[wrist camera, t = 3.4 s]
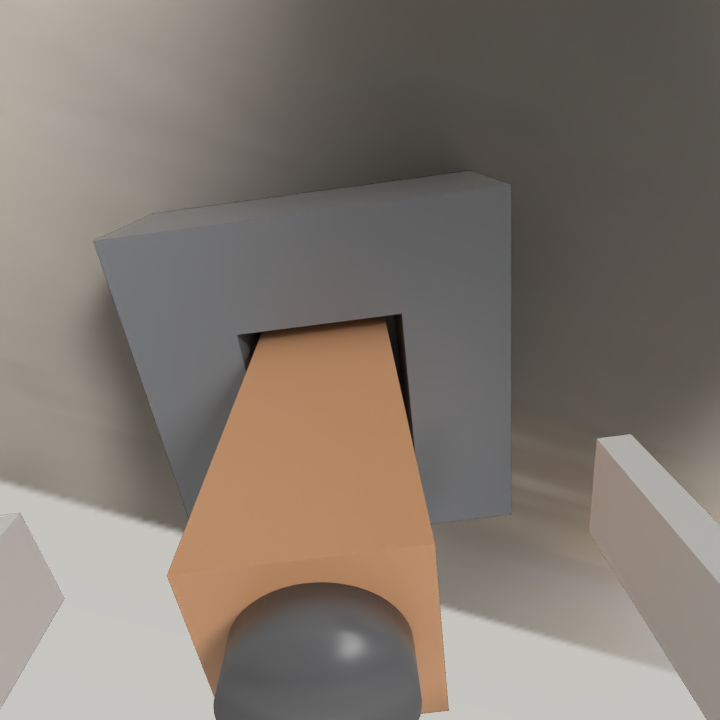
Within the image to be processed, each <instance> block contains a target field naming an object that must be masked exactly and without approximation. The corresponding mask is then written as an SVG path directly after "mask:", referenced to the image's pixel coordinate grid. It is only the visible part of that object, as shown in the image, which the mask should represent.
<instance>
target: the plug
mask: <svg viewBox="0 0 720 720" xmlns="http://www.w3.org/2000/svg"><path fill="white" fill-rule="evenodd" d="M167 577H168V580H169V582H170V585H171V587H172V590H173V593H174V595H175V598H176V600H177V603H178V605H179V608H180V610H181V613H182V615H183V618H184V621H185V623H186V626H187V628H188V631H189V633H190V636H191V638H192V641H193V644H194V646H195V648H196V651H197V653H198V656H199V659H200V661H201V664H202V667H203V669H204V672H205V674H206V677H207V679H208V682H209V684H210V687H211V689H212V692H213V694H214V697H215V698H214V714H215V717H216V720H418V719H419V717H420V714H423V713H431V712H441V711H448V710H449V708H448V696H447V684H446V672H445V660H444V648H443V635H442V624H441V611H440V599H439V587H438V575H437V563H436V551H435V542H434V538H433V533H432V529H431V524H430V520H429V515H428V511H427V506H426V502H425V497H424V493H423V488H422V484H421V479H420V474H419V470H418V465H417V461H416V456H415V452H414V447H413V443H412V438H411V434H410V429H409V425H408V420H407V416H406V411H405V407H404V402H403V398H402V393H401V389H400V384H399V380H398V375H397V371H396V366H395V362H394V357H393V353H392V348H391V344H390V339H389V335H388V330H387V326H386V321H385V317H384V316H380V317H373V318H365V319H357V320H349V321H341V322H334V323H326V324H318V325H310V326H303V327H295V328H287V329H279V330H271V331H264V332H262V333H261V336H260V338H259V341H258V344H257V346H256V349H255V351H254V354H253V356H252V359H251V362H250V364H249V367H248V369H247V372H246V374H245V377H244V379H243V382H242V385H241V387H240V390H239V392H238V395H237V397H236V400H235V403H234V405H233V408H232V410H231V413H230V415H229V418H228V420H227V423H226V426H225V428H224V431H223V433H222V436H221V438H220V441H219V443H218V446H217V449H216V451H215V454H214V456H213V459H212V461H211V464H210V467H209V469H208V472H207V474H206V477H205V479H204V482H203V484H202V487H201V490H200V492H199V495H198V497H197V500H196V502H195V505H194V508H193V510H192V513H191V515H190V518H189V520H188V523H187V525H186V528H185V531H184V533H183V536H182V538H181V541H180V543H179V546H178V548H177V551H176V554H175V556H174V559H173V561H172V564H171V567H170V569H169V572H168V574H167Z"/></svg>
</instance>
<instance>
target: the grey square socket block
mask: <svg viewBox="0 0 720 720" xmlns="http://www.w3.org/2000/svg"><path fill="white" fill-rule="evenodd" d="M93 242H94V245H95V248H96V250H97V253H98V256H99V259H100V262H101V265H102V268H103V271H104V274H105V277H106V279H107V282H108V285H109V288H110V291H111V294H112V297H113V300H114V303H115V306H116V309H117V311H118V314H119V317H120V320H121V323H122V326H123V329H124V332H125V335H126V338H127V340H128V343H129V346H130V349H131V352H132V355H133V358H134V361H135V364H136V367H137V369H138V372H139V375H140V378H141V381H142V384H143V387H144V390H145V393H146V396H147V399H148V401H149V404H150V407H151V410H152V413H153V416H154V419H155V422H156V425H157V428H158V430H159V433H160V436H161V439H162V442H163V445H164V448H165V451H166V454H167V457H168V460H169V462H170V465H171V468H172V471H173V474H174V477H175V480H176V483H177V486H178V489H179V491H180V494H181V497H182V500H183V503H184V506H185V509H186V512H187V515H188V518H190V515H191V513H192V510H193V508H194V505H195V502H196V500H197V497H198V495H199V492H200V490H201V487H202V484H203V482H204V479H205V477H206V474H207V472H208V469H209V467H210V464H211V461H212V459H213V456H214V454H215V451H216V449H217V446H218V443H219V441H220V438H221V436H222V433H223V431H224V428H225V426H226V423H227V420H228V418H229V415H230V413H231V410H232V408H233V405H234V403H235V400H236V397H237V395H238V392H239V390H240V387H241V385H242V382H243V379H244V377H245V374H246V372H247V369H248V367H249V364H250V362H251V359H252V356H253V354H254V351H255V349H256V346H257V344H258V341H259V338H260V336H261V333H262V332H264V331H271V330H279V329H287V328H295V327H303V326H310V325H318V324H326V323H334V322H341V321H349V320H357V319H365V318H373V317H380V316H384V317H385V321H386V326H387V330H388V335H389V339H390V344H391V348H392V353H393V357H394V362H395V366H396V371H397V375H398V380H399V384H400V389H401V393H402V398H403V402H404V407H405V411H406V416H407V420H408V425H409V429H410V434H411V438H412V443H413V447H414V452H415V456H416V461H417V465H418V470H419V474H420V479H421V484H422V488H423V493H424V497H425V502H426V506H427V511H428V515H429V520H430V524H435V523H444V522H452V521H461V520H469V519H478V518H486V517H494V516H503V515H511V185H510V184H507V183H505V182H502V181H499V180H496V179H493V178H490V177H487V176H484V175H481V174H478V173H476V172H473V171H465V172H458V173H450V174H443V175H435V176H428V177H420V178H413V179H406V180H398V181H391V182H383V183H376V184H368V185H361V186H354V187H346V188H339V189H331V190H324V191H316V192H309V193H302V194H294V195H287V196H279V197H272V198H264V199H257V200H250V201H242V202H235V203H227V204H220V205H212V206H205V207H198V208H190V209H183V210H175V211H168V212H160V213H153V214H150V215H148V216H146V217H144V218H142V219H140V220H137V221H135V222H133V223H131V224H129V225H126V226H124V227H122V228H120V229H118V230H116V231H113V232H111V233H109V234H107V235H105V236H102V237H100V238H98V239H96V240H94V241H93Z"/></svg>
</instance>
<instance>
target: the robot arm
mask: <svg viewBox="0 0 720 720" xmlns="http://www.w3.org/2000/svg"><path fill="white" fill-rule="evenodd" d="M589 533H590V535H591V536H592V538H593V540H594V541H595V543H596V544H597V546H598V547H599V549H600V551H601V552H602V554H603V555H604V557H605V559H606V560H607V562H608V563H609V565H610V567H611V568H612V570H613V571H614V573H615V575H616V576H617V578H618V579H619V581H620V582H621V584H622V586H623V587H624V589H625V590H626V592H627V594H628V595H629V597H630V598H631V600H632V602H633V603H634V605H635V606H636V608H637V609H638V611H639V613H640V614H641V616H642V617H643V619H644V621H645V622H646V624H647V625H648V627H649V629H650V630H651V632H652V633H653V635H654V637H655V638H656V640H657V641H658V643H659V644H660V646H661V648H662V649H663V651H664V652H665V654H666V656H667V657H668V659H669V660H670V662H671V664H672V665H673V667H674V668H675V670H676V671H677V673H678V675H679V676H680V678H681V679H682V681H683V683H684V684H685V686H686V687H687V689H688V690H689V692H690V694H691V695H692V697H693V699H694V700H695V701H696V703H697V705H698V706H699V708H700V710H701V711H702V713H703V714H704V716H705V718H706V719H707V720H720V525H719V524H718V523H717V522H716V521H715V520H714V519H713V518H712V517H711V516H710V515H709V514H708V513H707V512H706V511H705V510H704V509H703V508H702V507H701V506H700V505H699V504H698V503H697V502H696V501H695V500H694V499H693V498H692V497H691V496H690V495H689V493H688V492H687V491H686V490H685V489H684V488H683V487H682V486H681V485H680V484H679V483H678V482H677V481H676V480H675V479H674V478H673V477H672V476H671V475H670V474H669V473H668V472H667V471H666V470H665V469H664V468H663V467H662V466H661V465H660V464H659V463H658V462H657V461H656V459H655V458H654V457H653V456H652V455H651V454H650V453H649V452H648V451H647V450H646V449H645V448H644V447H643V446H642V445H641V444H640V443H639V442H638V441H637V440H636V439H635V438H634V437H633V436H632V435H631V434H628V435H620V436H612V437H604V438H597V441H596V453H595V465H594V477H593V489H592V501H591V514H590V526H589ZM63 600H64V597H63V595H62V593H61V591H60V589H59V587H58V585H57V583H56V581H55V579H54V577H53V575H52V573H51V572H50V570H49V568H48V566H47V564H46V562H45V560H44V558H43V556H42V554H41V552H40V550H39V548H38V546H37V544H36V542H35V540H34V539H33V537H32V535H31V533H30V531H29V529H28V527H27V525H26V523H25V521H24V519H23V517H22V515H21V513H15V514H6V515H0V709H1V707H2V705H3V704H4V702H5V700H6V698H7V697H8V695H9V693H10V691H11V690H12V688H13V686H14V685H15V683H16V681H17V679H18V678H19V676H20V674H21V673H22V671H23V669H24V667H25V666H26V663H27V662H28V661H29V659H30V657H31V655H32V653H33V652H34V650H35V648H36V647H37V645H38V643H39V642H40V640H41V638H42V636H43V635H44V633H45V631H46V630H47V628H48V626H49V624H50V622H51V621H52V619H53V617H54V616H55V614H56V612H57V611H58V609H59V607H60V605H61V604H62V602H63Z"/></svg>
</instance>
